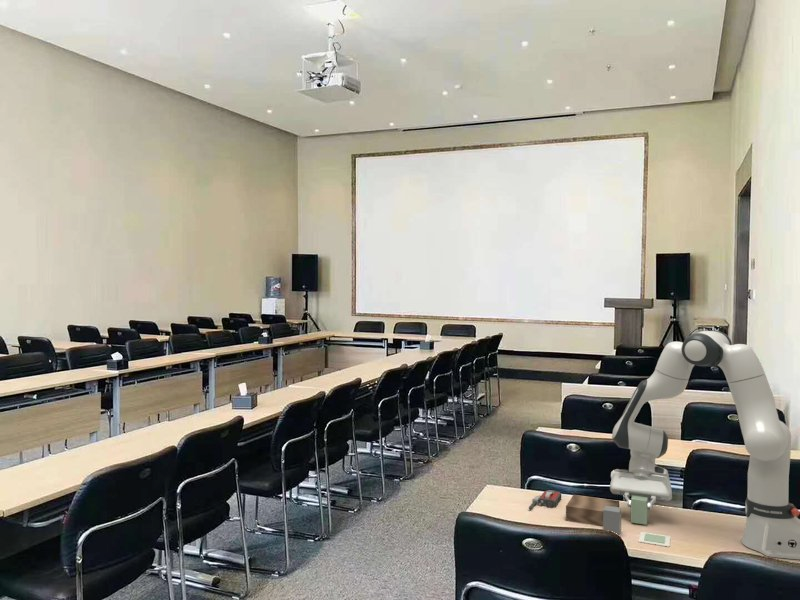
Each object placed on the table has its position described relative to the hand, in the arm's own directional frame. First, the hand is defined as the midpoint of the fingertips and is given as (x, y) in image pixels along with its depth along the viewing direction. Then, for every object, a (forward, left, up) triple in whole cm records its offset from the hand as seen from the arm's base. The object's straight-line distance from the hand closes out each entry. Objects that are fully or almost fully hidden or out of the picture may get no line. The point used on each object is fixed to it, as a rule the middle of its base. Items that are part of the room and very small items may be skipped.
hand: (639, 507), depth 216 cm
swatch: (-6, +13, -5) cm, 16 cm away
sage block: (0, -1, -5) cm, 5 cm away
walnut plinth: (+15, +1, -5) cm, 16 cm away
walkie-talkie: (+34, -6, -6) cm, 34 cm away
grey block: (+7, +13, -5) cm, 16 cm away
